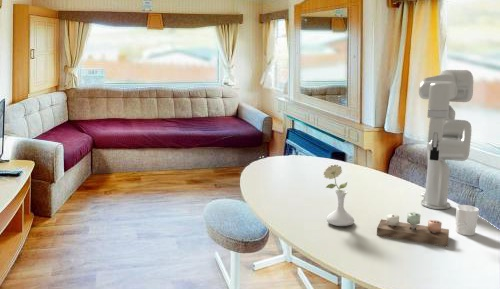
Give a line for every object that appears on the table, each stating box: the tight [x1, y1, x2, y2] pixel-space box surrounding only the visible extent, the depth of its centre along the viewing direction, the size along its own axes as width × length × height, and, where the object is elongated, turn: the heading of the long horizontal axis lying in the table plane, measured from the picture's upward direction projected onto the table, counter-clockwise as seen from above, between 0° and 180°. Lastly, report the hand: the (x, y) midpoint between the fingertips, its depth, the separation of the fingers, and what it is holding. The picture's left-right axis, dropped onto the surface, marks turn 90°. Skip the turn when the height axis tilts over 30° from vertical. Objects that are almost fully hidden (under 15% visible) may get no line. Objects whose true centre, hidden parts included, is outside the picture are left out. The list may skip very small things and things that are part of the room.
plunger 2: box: [406, 212, 421, 230], centre depth 166 cm, size 5×5×7 cm
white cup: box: [455, 204, 480, 237], centre depth 170 cm, size 8×8×10 cm
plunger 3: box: [427, 219, 442, 233], centre depth 163 cm, size 5×5×7 cm
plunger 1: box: [386, 213, 400, 227], centre depth 169 cm, size 5×5×7 cm
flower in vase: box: [323, 164, 355, 227], centre depth 177 cm, size 13×11×25 cm
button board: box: [376, 218, 450, 247], centre depth 167 cm, size 25×10×3 cm, turn 65°
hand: (434, 159), depth 174 cm, fingers closed
